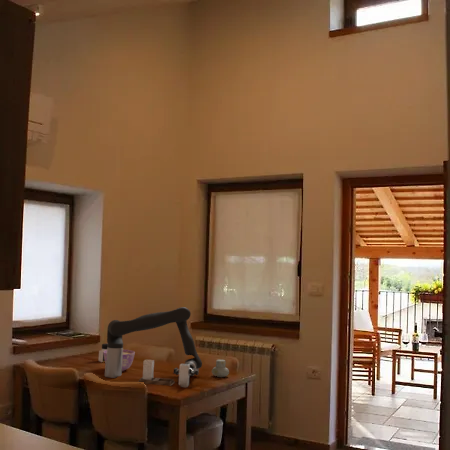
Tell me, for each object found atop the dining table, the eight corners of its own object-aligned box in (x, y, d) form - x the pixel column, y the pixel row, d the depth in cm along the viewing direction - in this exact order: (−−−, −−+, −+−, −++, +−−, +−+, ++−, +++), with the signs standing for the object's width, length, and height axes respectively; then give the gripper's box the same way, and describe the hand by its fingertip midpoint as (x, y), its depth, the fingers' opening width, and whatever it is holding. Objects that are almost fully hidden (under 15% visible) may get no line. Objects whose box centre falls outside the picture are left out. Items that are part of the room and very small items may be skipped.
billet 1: (142, 382, 314) (143, 360, 315) (144, 380, 319) (145, 359, 320) (150, 382, 313) (152, 361, 314) (153, 381, 318) (154, 360, 319)
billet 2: (178, 386, 311) (179, 365, 312) (180, 384, 316) (181, 363, 317) (187, 387, 311) (188, 365, 312) (188, 385, 316) (189, 364, 317)
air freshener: (209, 375, 347) (210, 359, 348) (220, 374, 352) (221, 358, 353) (220, 378, 339) (220, 362, 339) (230, 377, 344) (231, 361, 344)
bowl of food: (127, 374, 338) (128, 355, 339) (96, 371, 342) (97, 352, 343) (138, 368, 357) (139, 350, 358) (109, 366, 361) (110, 348, 362)
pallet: (136, 384, 311) (136, 380, 311) (141, 380, 322) (141, 376, 322) (171, 387, 309) (171, 382, 309) (175, 383, 320) (175, 378, 320)
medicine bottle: (102, 362, 372) (103, 344, 373) (98, 361, 378) (99, 343, 379) (112, 362, 376) (113, 344, 377) (108, 360, 382) (109, 342, 383)
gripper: (177, 361, 330) (172, 366, 314) (201, 363, 329) (196, 368, 313) (176, 374, 330) (171, 379, 314) (200, 375, 328) (196, 381, 312)
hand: (184, 373), depth 313 cm, fingers open, 8 cm apart
